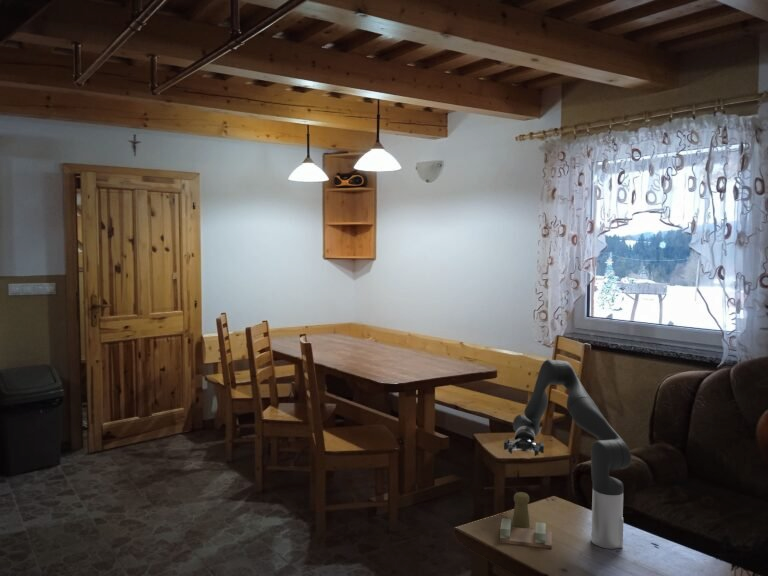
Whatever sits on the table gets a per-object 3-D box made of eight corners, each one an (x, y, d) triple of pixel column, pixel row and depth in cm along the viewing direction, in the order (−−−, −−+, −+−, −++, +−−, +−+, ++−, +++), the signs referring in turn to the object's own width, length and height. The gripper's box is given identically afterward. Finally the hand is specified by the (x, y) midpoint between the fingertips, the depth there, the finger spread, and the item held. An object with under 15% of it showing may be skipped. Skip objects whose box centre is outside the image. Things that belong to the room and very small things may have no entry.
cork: (531, 529, 208) (532, 497, 207) (513, 528, 208) (514, 496, 207) (527, 521, 214) (528, 490, 213) (510, 520, 214) (511, 489, 213)
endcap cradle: (551, 534, 204) (551, 522, 204) (551, 548, 194) (551, 536, 194) (502, 528, 208) (502, 517, 208) (499, 542, 198) (500, 530, 198)
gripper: (506, 426, 237) (503, 440, 221) (544, 430, 233) (544, 443, 217) (505, 446, 237) (502, 460, 222) (543, 449, 234) (543, 464, 218)
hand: (523, 452), depth 220 cm, fingers open, 8 cm apart
